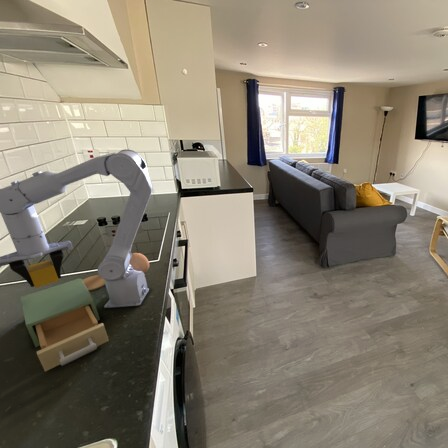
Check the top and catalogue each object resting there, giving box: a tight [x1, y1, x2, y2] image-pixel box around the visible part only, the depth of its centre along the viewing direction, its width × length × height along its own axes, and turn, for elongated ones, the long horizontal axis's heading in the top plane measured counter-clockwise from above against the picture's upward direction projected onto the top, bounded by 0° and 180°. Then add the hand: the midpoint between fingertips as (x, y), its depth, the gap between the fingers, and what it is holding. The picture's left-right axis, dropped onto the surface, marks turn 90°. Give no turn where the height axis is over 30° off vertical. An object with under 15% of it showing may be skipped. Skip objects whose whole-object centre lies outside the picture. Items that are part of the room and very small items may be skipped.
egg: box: [129, 252, 150, 275], centre depth 89 cm, size 7×7×8 cm
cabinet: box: [19, 277, 101, 348], centre depth 69 cm, size 15×13×7 cm
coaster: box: [82, 274, 106, 292], centre depth 85 cm, size 9×9×1 cm
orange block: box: [26, 259, 60, 289], centre depth 69 cm, size 5×5×5 cm
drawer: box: [35, 305, 110, 372], centre depth 61 cm, size 18×11×5 cm, turn 48°
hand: (45, 281), depth 69 cm, fingers closed on orange block, 4 cm apart
